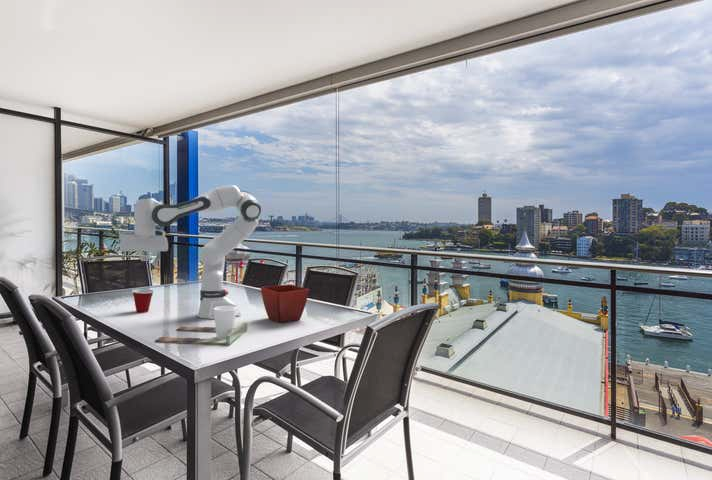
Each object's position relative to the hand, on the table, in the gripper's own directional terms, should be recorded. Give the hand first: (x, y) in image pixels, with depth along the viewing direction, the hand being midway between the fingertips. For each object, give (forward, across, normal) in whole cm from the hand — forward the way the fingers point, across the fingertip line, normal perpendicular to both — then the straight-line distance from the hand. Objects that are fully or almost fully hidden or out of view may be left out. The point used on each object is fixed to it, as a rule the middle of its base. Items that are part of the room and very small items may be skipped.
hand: (144, 260), depth 179 cm
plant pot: (+31, +66, -11) cm, 74 cm away
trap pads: (+30, +23, -27) cm, 47 cm away
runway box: (+31, +23, -28) cm, 48 cm away
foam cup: (+31, +32, -34) cm, 56 cm away
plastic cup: (+31, -1, +32) cm, 45 cm away
